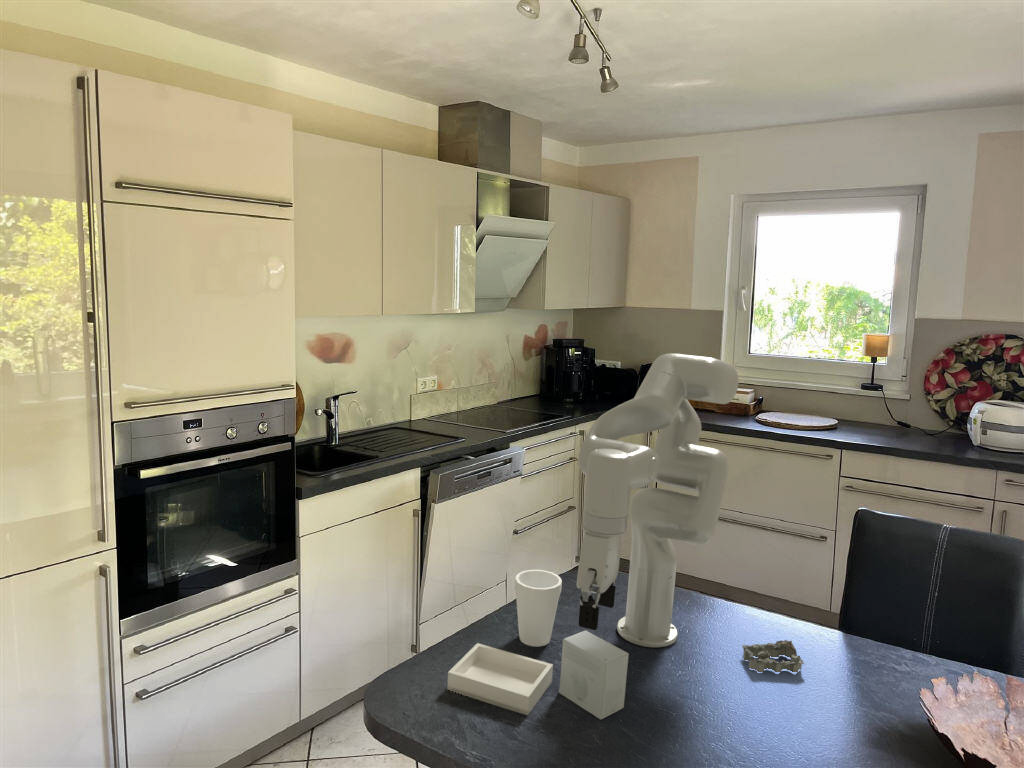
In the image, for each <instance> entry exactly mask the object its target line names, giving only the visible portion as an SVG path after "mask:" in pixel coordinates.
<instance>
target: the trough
mask: <svg viewBox="0 0 1024 768" xmlns="http://www.w3.org/2000/svg"><path fill="white" fill-rule="evenodd" d="M553 671H554V664H552V663H549V662H545V661H542V660H540V659H534V658H532V657H528V656H524V655H520V654H517V653H515V652H514V653H513V652H510V651H507V650H504V649H499V648H495V647H493V646H489V645H485V644H482V643H479V642H477V643H476V644H475V645H474V646H473V647H472V648H470V649H469V651H468V652H466V653H465V655H464V656H463V657H462V658H461V659H460V660H459V661H457V663H455V664H454V666H453V667H452V668H450V669H449V671H448V672H447V691H448V690H450V691H449V692H452V691H453V692H452V693H455V692H456V694H458V693H459V695H461V694H462V696H465V697H467V696H468V698H471V699H474V700H477V701H481V702H483V703H487V704H490V705H493V706H496V707H500V708H502V709H506V710H509V711H512V712H515V713H517V714H518V713H519V714H521V715H525V716H529V714H530V713H531V712H532V710H533V709H534V708H535V706H536V705H537V704H538V702H539V701H540V699H541V698H542V696H543V695H544V694H545V692H546V691H547V690H548V688H549V687H550V685H552V682H553Z"/></svg>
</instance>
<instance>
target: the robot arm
mask: <svg viewBox="0 0 1024 768" xmlns="http://www.w3.org/2000/svg"><path fill="white" fill-rule="evenodd" d="M738 375H739V374H738V371H737V369H736V368H735V366H733V364H731V363H728V362H725V361H723V360H720V359H718V358H715V357H708V356H702V355H701V356H700V355H691V354H682V353H674V352H673V353H664V354H661V355H659V356H658V357H657V358H655V359H654V361H653V362H652V364H651V366H650V368H649V370H648V371H647V373H646V375H645V377H644V379H643V381H642V382H641V384H640V386H639V388H638V390H637V391H636V393H635V396H634V397H633V398H631V399H629V400H627V401H624V402H623V403H621V404H618V405H617V406H615V407H613V408H611V409H610V410H608V411H606V412H604V413H602V414H601V415H600V416H599V417H598V418H597V419H596V420H595V421H594V423H593V424H592V426H591V427H590V429H589V430H588V432H587V434H586V436H585V437H584V439H583V441H582V444H581V445H580V449H579V452H578V460H577V462H578V467H579V470H580V471H581V473H582V474H583V475H585V477H586V478H585V490H584V499H583V500H584V501H583V511H582V513H583V514H582V524H581V530H582V531H583V532H584V534H583V539H582V543H581V547H580V548H581V550H580V555H579V562H578V569H577V577H576V587H577V589H579V590H580V598H579V599H580V600H579V601H580V602H579V612H578V613H579V614H578V626H579V627H580V628H584V629H588V630H591V631H596V630H597V629H598V627H599V615H600V614H599V613H600V606H603V607H604V608H605V607H606V608H609V609H612V608H613V607H614V605H615V599H616V598H615V597H616V588H617V587H616V583H617V577H618V574H619V571H620V570H619V569H620V561H621V559H620V558H621V548H622V547H621V546H622V544H621V543H622V537H624V536H625V535H626V534H627V526H628V514H629V518H630V527H631V528H630V530H631V545H630V546H631V547H630V548H631V549H630V561H629V571H628V572H629V573H628V583H627V584H628V585H627V595H626V604H625V605H626V607H625V615H624V616H623V617H621V618H620V619H619V620H618V622H617V626H616V629H617V632H618V634H619V635H620V636H621V637H622V638H623V639H624V640H625V641H627V642H629V643H631V644H634V645H637V646H640V647H646V648H663V647H664V648H665V647H668V646H671V645H672V644H674V643H675V642H676V641H677V640H678V630H677V627H676V626H675V625H674V624H672V617H673V616H672V615H673V605H674V596H675V584H676V573H677V566H678V557H677V551H676V549H675V546H674V544H673V542H672V540H673V541H678V542H683V543H686V544H690V545H695V546H704V545H707V544H709V543H710V542H711V540H712V539H713V537H714V535H715V532H716V528H717V525H718V520H719V516H720V512H721V508H722V504H723V500H724V495H725V492H726V491H725V490H726V486H727V482H728V476H729V461H728V458H727V456H726V454H725V453H724V452H723V451H722V450H720V449H718V448H717V449H716V448H715V447H708V446H703V445H698V443H699V441H700V440H699V438H700V435H701V432H702V422H701V420H700V417H699V415H698V413H697V412H696V410H695V409H694V407H693V406H692V405H691V403H690V402H689V400H691V401H698V402H703V403H704V402H706V403H711V404H712V403H713V404H720V405H727V404H729V403H730V402H731V401H733V399H734V398H735V396H736V395H737V392H738V388H739V376H738ZM656 431H658V433H657V436H656V437H657V438H656V441H655V445H654V449H653V448H651V447H650V446H648V445H647V446H646V445H642V444H638V443H632V442H627V441H624V440H623V441H622V440H619V439H622V438H625V437H629V436H635V435H640V434H646V433H651V432H656ZM654 481H655V482H656V483H658V484H661V485H665V486H668V487H673V488H678V489H680V490H685V491H691V492H692V491H693V492H696V493H698V495H697V496H696V495H692V494H688V493H682V492H679V491H674V490H669V489H665V488H664V489H663V488H658V487H648V486H649V485H651V484H652V483H653V482H654ZM634 489H635V490H637V489H638V490H637V491H636V492H635V493H634V494H633V495H632V497H631V500H630V492H631V491H630V490H634ZM629 503H630V504H629ZM595 587H597V588H595ZM592 594H595V596H594V597H593V595H592Z"/></svg>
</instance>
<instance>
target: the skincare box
mask: <svg viewBox="0 0 1024 768" xmlns="http://www.w3.org/2000/svg"><path fill="white" fill-rule="evenodd" d="M629 655H630V654H629V653H628V652H627V651H625V650H623V649H621V648H619V647H618V646H616V645H614V644H612V643H610V642H608V641H607V640H604V639H602V638H601V637H599V636H597V635H595V634H594V633H591V632H590V631H588V630H583V631H580V632H578V633H574V634H573V635H569V636H567V637H565V638H562V651H561V666H560V675H559V676H560V677H559V689H558V694H560V695H561V696H563V697H564V698H566V699H568V700H570V701H571V702H573V703H574V704H575V705H577V706H578V707H581V708H582V709H583V710H584V711H586V712H588V713H589V714H591V715H593V716H594V717H596V718H598V719H599V720H603V719H605V718H607V717H609V716H611V715H613V714H614V713H617V712H618V711H620V710H622V709H624V707H625V698H626V697H625V696H626V686H627V685H626V684H627V676H628V674H627V673H628V666H629V665H628V664H629Z"/></svg>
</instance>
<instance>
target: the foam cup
mask: <svg viewBox="0 0 1024 768" xmlns="http://www.w3.org/2000/svg"><path fill="white" fill-rule="evenodd" d="M562 585H563V580H562V578H561V577H560V575H558V574H556V573H555V572H552V571H549V570H544V569H528V570H522V571H520V572H519V573H517V574H516V576H515V579H514V590H515V597H516V599H515V600H516V610H517V622H518V623H517V624H518V636H519V640H520V642H521V643H523V644H524V645H527V646H530V647H538V648H540V647H544V646H547V645H549V643H550V642H551V637H552V633H553V632H552V631H553V627H554V623H555V618H556V615H557V614H556V613H557V608H558V604H559V603H558V602H559V599H560V596H561V593H562Z"/></svg>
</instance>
